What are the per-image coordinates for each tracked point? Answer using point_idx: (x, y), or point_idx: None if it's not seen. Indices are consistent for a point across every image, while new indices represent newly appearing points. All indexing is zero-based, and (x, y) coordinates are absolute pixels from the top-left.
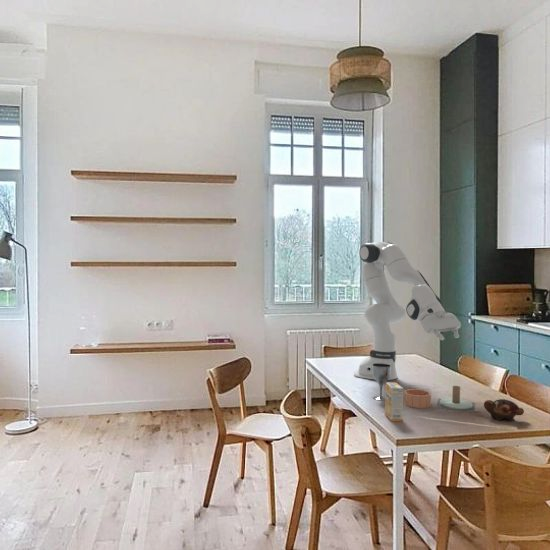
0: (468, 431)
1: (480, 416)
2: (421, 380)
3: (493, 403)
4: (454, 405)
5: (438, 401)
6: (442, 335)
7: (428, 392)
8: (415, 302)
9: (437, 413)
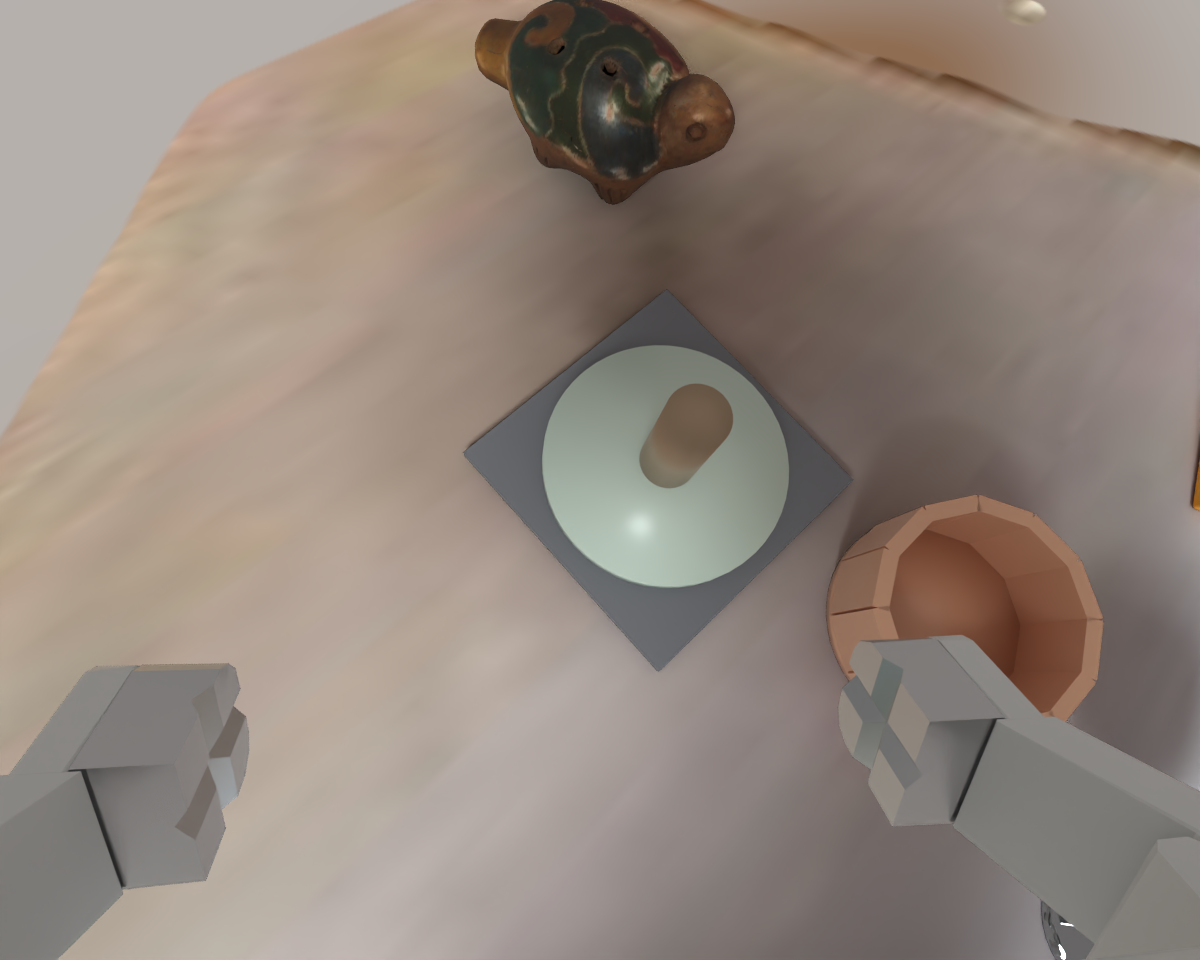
0: (944, 121)
1: (673, 248)
2: None
3: (697, 74)
4: (741, 407)
5: (720, 601)
6: (963, 700)
7: (894, 571)
8: None
9: (903, 411)
